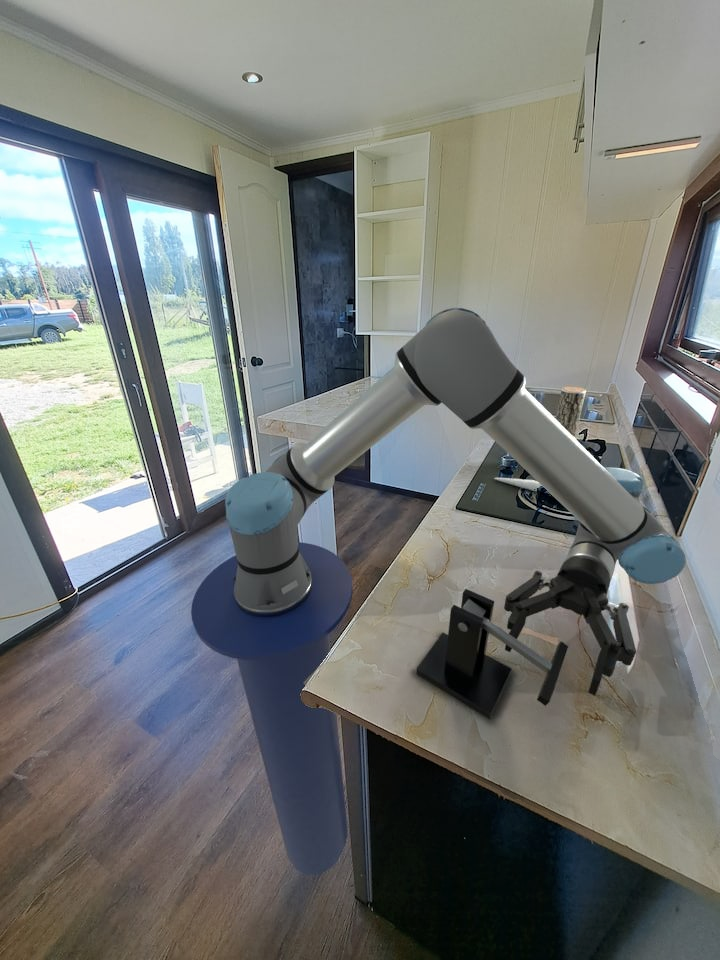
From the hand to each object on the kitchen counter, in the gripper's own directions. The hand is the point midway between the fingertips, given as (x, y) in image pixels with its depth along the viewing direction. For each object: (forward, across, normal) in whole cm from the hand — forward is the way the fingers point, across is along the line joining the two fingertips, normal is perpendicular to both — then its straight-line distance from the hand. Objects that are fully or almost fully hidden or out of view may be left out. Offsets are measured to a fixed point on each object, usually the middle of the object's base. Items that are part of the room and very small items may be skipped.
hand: (548, 664), depth 51 cm
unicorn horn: (-67, +20, -10) cm, 71 cm away
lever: (+1, +6, +1) cm, 6 cm away
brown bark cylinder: (-93, +20, -10) cm, 96 cm away
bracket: (+1, +11, -10) cm, 15 cm away
